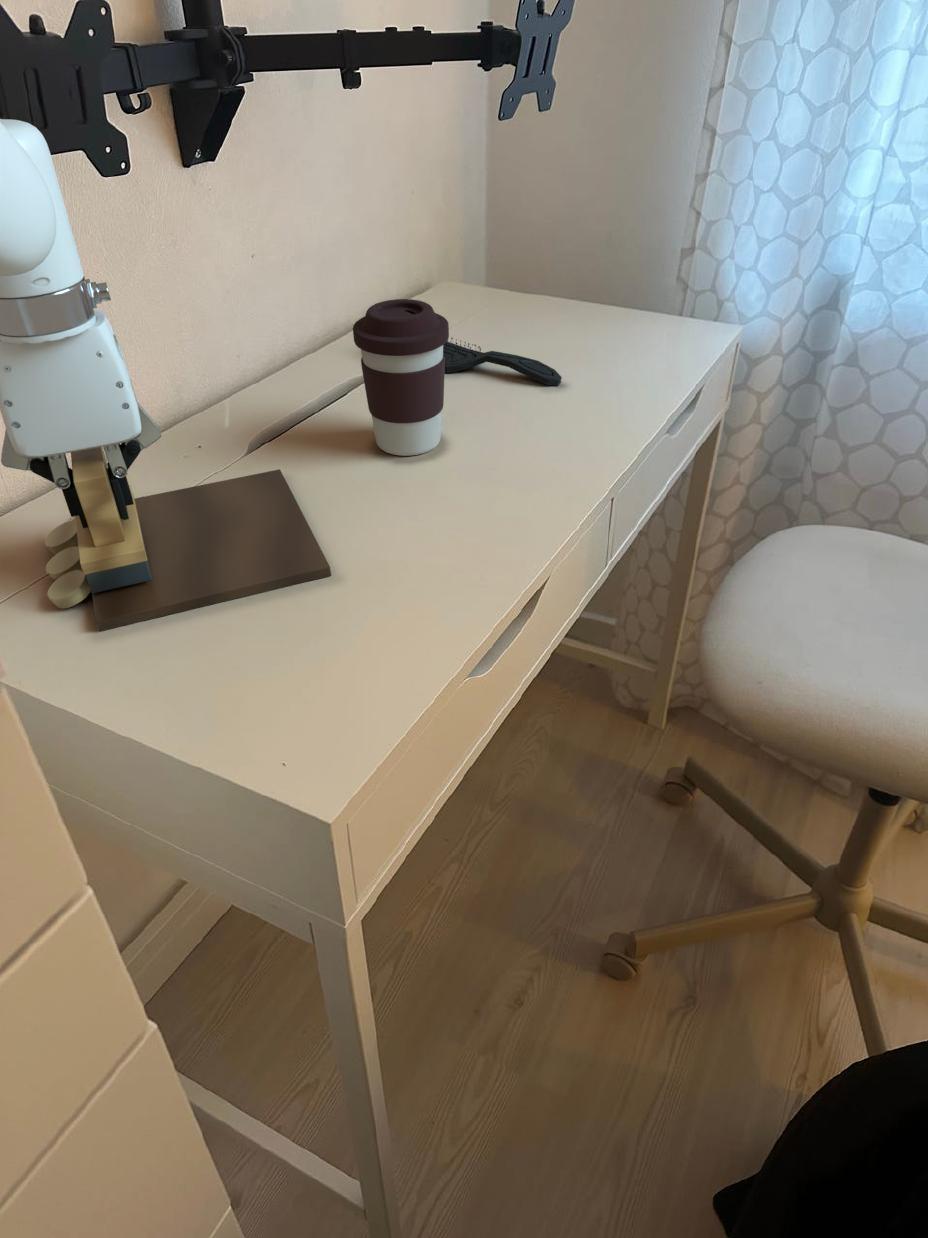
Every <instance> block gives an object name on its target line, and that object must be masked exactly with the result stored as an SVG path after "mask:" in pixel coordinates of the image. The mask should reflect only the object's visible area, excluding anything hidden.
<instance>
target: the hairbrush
mask: <svg viewBox="0 0 928 1238" xmlns="http://www.w3.org/2000/svg"><path fill="white" fill-rule="evenodd" d="M450 338H451V340H454V337H450ZM455 341H456V342H455V343H454V342H451V341H449V339H448V340H447V342H446V343H445V344H444V345H443V353H444V356H445V373H446V374H447V373H449V374H450V373H455V372H459V371H463V370H468V369H472V368H474V367H477V366H479V365H482V364H484V363H491V364H494V365H498V366H503V367H506V368H510V369H512V370H514V371H516V372H517V373H520V374H522V375H523V376H525V377H527V378H530V379H533V380H534V381H537V382H540V383H542V384H544V385H547V386H556V387H559V386H560V384H561V383H562V378H563V377H562V375H560V373H559V372H558V371H557V370H556V369H554V368H553V367H551V366H549V365H547V364H545V363H543V362H541V361H540V360H538V359H537V360H536V359H533V358H529V357H525V356H521V355H518V354H512V353H507V352H501V351H496V350H489V351H485V352H482V349H481V348H482V347H481V346H480V345H478V346H477V344H475V343H474V344H473V343H472V344H471V346H474V347H475V348H474V349H472V347H471V346H470V343H468V342H466V341H464V345H462V340H460V341H459V342H460V343H459V345H458V342H457V341H458V340H457V338H456V339H455ZM466 343H467V344H466ZM477 349H479V350H477ZM445 373H444V374H445Z"/></svg>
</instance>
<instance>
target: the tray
mask: <svg viewBox="0 0 928 1238" xmlns="http://www.w3.org/2000/svg"><path fill="white" fill-rule="evenodd" d="M134 499H135V503H136V508H137V512H138V516H139V521H140V526H141V530H142V535H143V540H144V545H145V549H146V554H147V559H148V564H149V568H150V573H151V578H152V580H150V581H146V582H141V583H137V584H132V585H128V586H124V587H119V588H115V589H110V590H106V591H102V592H97V593H92V592H91V596H92V604H93V613H94V621H95V625H96V628H97V630H98V632H102V631H103V632H104V631H107V630H112V629H115V628H120V627H123V626H124V627H125V626H128V625H132V624H136V623H141V622H144V621H145V622H146V621H149V620H153V619H157V618H161V617H166V616H169V615H173V614H178V613H182V612H186V611H190V610H195V609H199V608H202V607H207V606H211V605H215V604H220V603H222V602H227V601H232V600H236V599H240V598H245V597H249V596H253V595H256V594H261V593H265V592H269V591H274V590H278V589H282V588H286V587H290V586H294V585H298V584H299V585H300V584H302V583H307V582H311V581H316V580H320V579H324V578H328V577H332V571H331V566H330V563H329V561H327V558H326V556H325V554H324V552H323V550H322V548H321V547H320V544H319V543H318V542H319V541H317V538H316V536H315V535H314V532H313V531H312V529H311V527H310V525H309V523H308V521H307V519H306V517H305V516H304V513H303V511H302V509H301V507H300V505H299V503H298V502H297V499H296V498H295V496H294V494H293V492H292V490H291V487H290V486H289V484H288V482H287V481H286V478H285V476H284V474H283V472H282V470H281V469H280V468H279V469H274V470H268V471H264V472H259V473H255V474H248V475H244V476H240V477H234V478H229V479H223V480H219V481H214V482H210V483H204V484H200V485H194V486H189V487H185V488H184V487H183V488H179V489H174V490H170V491H165V492H160V493H155V494H150V495H145V496H140V497H136V498H135V497H134Z"/></svg>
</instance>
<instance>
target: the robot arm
mask: <svg viewBox="0 0 928 1238" xmlns="http://www.w3.org/2000/svg"><path fill="white" fill-rule="evenodd" d="M52 157H53V156H52V154H51V151H50V148H49V145H48V143H47V141H46V139H45V137H44V134H43V133H42V132H41V131H40V130H39V129H38V128H37V127H36V126H34V125H32V124H31V123H29V122H27V121H23V120H18V119H11V118H10V119H6V118H0V414H1V417H2V422H3V424H4V427H5V429H4V437H3V443H2V447H1V448H2V449H1V454H0V463H1V465H2V466H3V467H5V468H10V469H15V470H20V471H25V472H27V471H29V472H32V473H33V474H35V475H37V476H39V477H42V478H43V479H45V480H47V481H49V482H51V483H53V484H54V485H55V487H57V488H58V489H60V490H61V491H62V494H63V498H64V500H65V503H66V507H67V508H68V512H69V514H70V517H71V518H73V517H74V518H75V516H79V518H80V521H81V524H82V527H83V528H88V524H87V521H86V518H85V515H84V512H83V509H82V506H81V503H80V500H79V497H78V494H77V491H76V488H75V485H74V480H73V470H72V468H70V466H69V462H68V457H67V454H71V452H76V451H82V450H87V449H92V448H98V447H103V451H104V454H105V457H106V460H107V464H108V468H107V471H108V476H109V482H110V486H111V489H112V492H113V496H114V499H115V502H116V505H117V509H118V512H119V515H120V518H121V519H123V520H127V519H129V516H128V511H127V506H128V505H133V504H134V502H133V498H132V494H131V491H130V488H129V486H130V485H129V480H128V477H127V475H128V471H129V469H130V468H131V466H132V465H133V464H134V462H135V460H136V459H137V457H138V456H139V455H140V453H141V452H142V451H143V450H145V449H147V448H148V447H150V446H151V445H152V444H154V443H156V442H157V441H159V440H160V439H161V437H162V432H161V428H160V426H159V425H158V423H156V421H155V420H154V419H153V418H152V417H151V415H150V414H149V413H148V412H147V411H146V409H144V408H143V407H142V405H141V404H140V402H138V400H137V395H136V393H135V389H134V386H133V383H132V380H131V376H130V373H129V369H128V368H127V364H126V361H125V358H124V355H123V352H122V349H121V347H120V343H119V342H118V341H119V340H118V339H117V336H116V333H115V332H114V330H113V327H112V325H111V323H110V321H109V319H108V317H107V315H106V314H105V312H104V311H102V310H99V309H98V305H101V304H102V302H110V301H112V299H111V295H110V291H109V287H108V284H107V283H108V282H105V281H104V282H98V283H97V282H96V281H91V279H90V278H86V277H85V272H84V270H83V267H82V262H81V259H80V256H79V252H78V248H77V244H76V241H75V238H74V237H75V236H74V233H73V230H72V226H71V222H70V218H69V215H68V211H67V207H66V205H65V201H64V197H63V194H62V190H61V187H60V183H59V179H58V176H57V172H56V169H55V164H54V161H53V158H52Z"/></svg>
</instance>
